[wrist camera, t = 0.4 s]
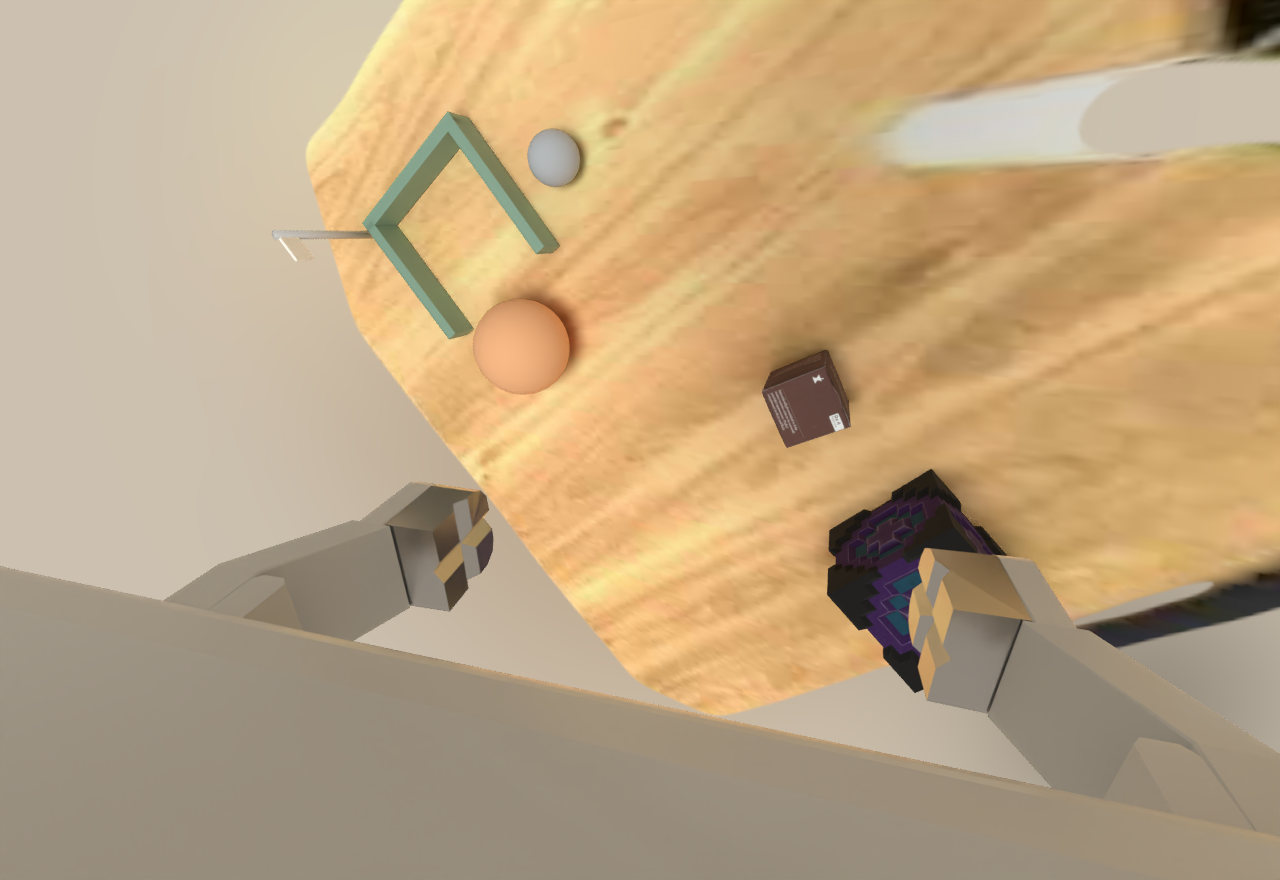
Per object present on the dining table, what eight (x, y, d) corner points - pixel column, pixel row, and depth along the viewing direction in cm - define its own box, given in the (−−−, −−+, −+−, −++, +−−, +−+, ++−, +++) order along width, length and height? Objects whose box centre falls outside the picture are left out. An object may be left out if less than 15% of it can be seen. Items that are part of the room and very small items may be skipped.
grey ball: (544, 131, 55) (518, 122, 50) (590, 135, 53) (567, 126, 49) (542, 186, 57) (517, 182, 52) (586, 191, 55) (564, 187, 51)
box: (769, 371, 55) (759, 389, 49) (828, 348, 53) (826, 364, 46) (791, 424, 56) (785, 449, 50) (850, 404, 54) (852, 428, 47)
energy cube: (829, 529, 59) (827, 594, 48) (931, 468, 53) (953, 526, 43) (901, 611, 59) (914, 692, 49) (1009, 558, 54) (1051, 638, 43)
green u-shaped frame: (559, 245, 58) (483, 249, 46) (459, 341, 66) (372, 366, 54) (469, 118, 57) (365, 85, 44) (378, 232, 65) (269, 232, 52)
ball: (507, 287, 62) (451, 297, 53) (588, 301, 59) (543, 314, 50) (505, 372, 66) (453, 394, 57) (581, 389, 63) (539, 415, 54)
